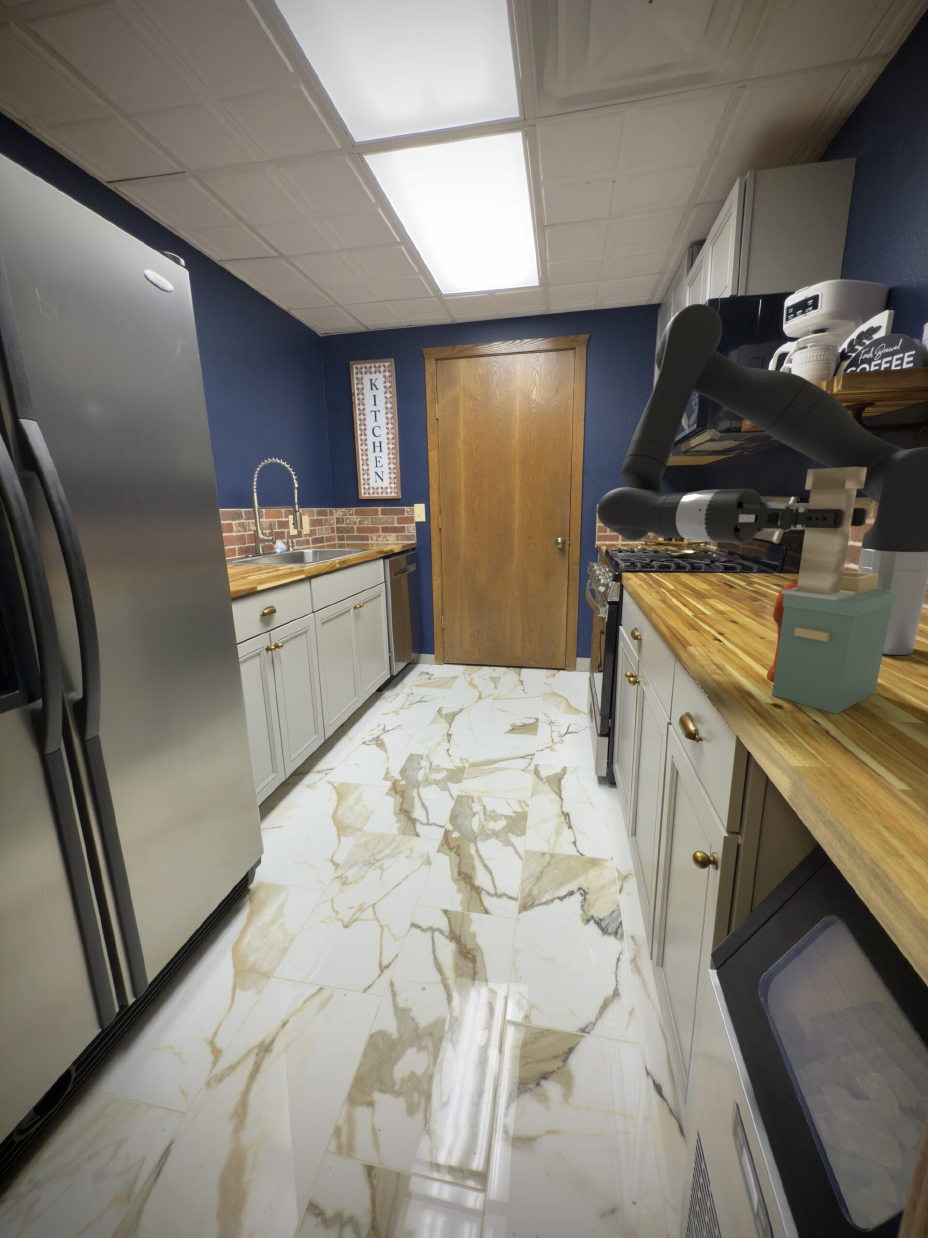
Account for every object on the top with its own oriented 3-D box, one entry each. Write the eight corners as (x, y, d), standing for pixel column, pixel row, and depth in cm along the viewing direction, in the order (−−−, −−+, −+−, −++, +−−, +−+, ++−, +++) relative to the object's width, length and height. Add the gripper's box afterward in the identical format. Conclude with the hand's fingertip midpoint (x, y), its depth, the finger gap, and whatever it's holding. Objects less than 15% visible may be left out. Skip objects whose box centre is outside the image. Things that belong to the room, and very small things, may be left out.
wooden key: (803, 587, 65) (820, 469, 62) (846, 592, 61) (866, 467, 58) (790, 590, 63) (807, 469, 60) (834, 595, 60) (855, 466, 56)
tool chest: (812, 675, 74) (828, 569, 70) (878, 691, 67) (901, 575, 63) (765, 695, 66) (781, 578, 63) (834, 716, 60) (857, 586, 56)
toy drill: (814, 649, 83) (821, 562, 78) (802, 696, 69) (811, 593, 65) (780, 646, 86) (785, 561, 81) (762, 690, 72) (767, 591, 68)
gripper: (690, 489, 67) (833, 484, 54) (746, 489, 75) (884, 485, 61) (685, 544, 69) (822, 553, 55) (741, 538, 77) (873, 545, 63)
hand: (853, 517), depth 58 cm, fingers open, 5 cm apart
